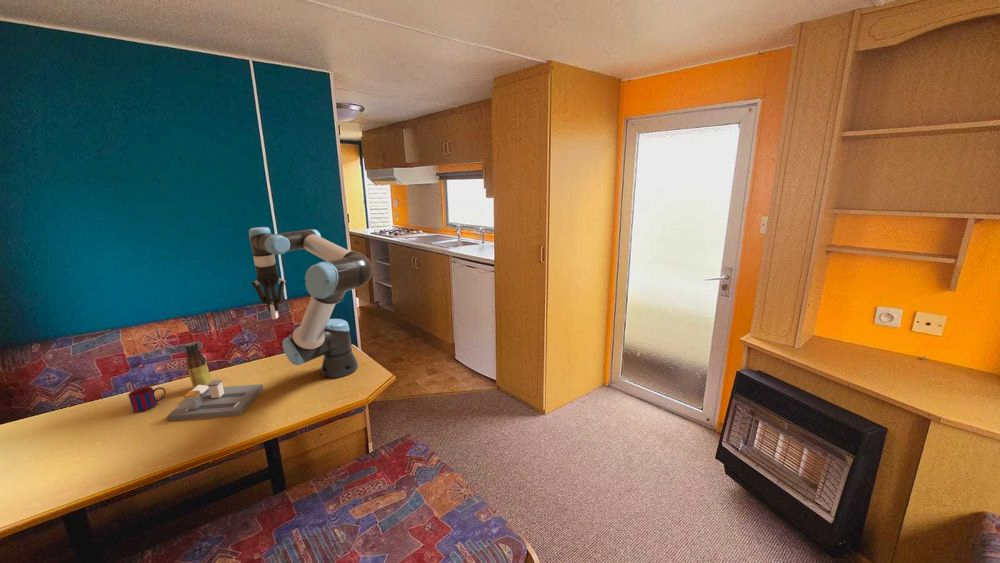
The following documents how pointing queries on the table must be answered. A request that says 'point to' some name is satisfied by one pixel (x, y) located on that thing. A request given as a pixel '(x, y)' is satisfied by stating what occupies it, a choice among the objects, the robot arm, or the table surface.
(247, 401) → the panel
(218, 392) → the slider cream
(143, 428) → the table surface
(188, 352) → the sauce bottle
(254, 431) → the table surface
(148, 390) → the mug
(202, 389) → the block
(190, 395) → the block
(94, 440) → the table surface
